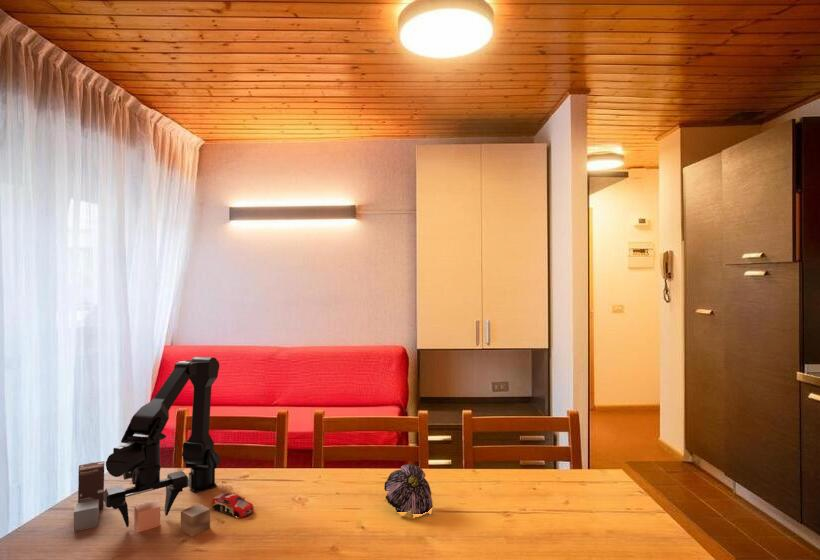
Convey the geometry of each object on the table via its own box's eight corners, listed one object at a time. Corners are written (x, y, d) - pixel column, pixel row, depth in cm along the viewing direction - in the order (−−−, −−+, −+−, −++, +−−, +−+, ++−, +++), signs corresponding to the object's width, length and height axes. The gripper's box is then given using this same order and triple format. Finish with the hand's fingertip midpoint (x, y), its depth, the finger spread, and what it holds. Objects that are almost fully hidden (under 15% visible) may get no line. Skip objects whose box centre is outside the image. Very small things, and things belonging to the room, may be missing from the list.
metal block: (198, 522, 125) (199, 503, 125) (210, 528, 122) (210, 509, 122) (180, 530, 121) (180, 511, 120) (191, 537, 118) (191, 517, 118)
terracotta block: (155, 518, 126) (155, 499, 126) (160, 525, 123) (160, 506, 123) (134, 524, 123) (134, 505, 123) (138, 532, 119) (138, 512, 119)
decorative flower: (386, 487, 125) (393, 450, 139) (375, 520, 128) (383, 481, 143) (439, 502, 125) (440, 464, 139) (427, 535, 128) (429, 495, 143)
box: (77, 514, 127) (77, 470, 127) (78, 507, 131) (78, 464, 131) (104, 509, 131) (104, 465, 131) (104, 502, 135) (104, 460, 134)
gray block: (98, 517, 126) (98, 499, 126) (97, 526, 122) (97, 507, 122) (75, 522, 124) (75, 503, 124) (73, 531, 119) (73, 512, 119)
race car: (257, 513, 130) (257, 498, 130) (241, 521, 126) (242, 506, 126) (225, 500, 137) (225, 487, 137) (208, 508, 132) (209, 494, 132)
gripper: (177, 444, 135) (177, 498, 135) (100, 460, 123) (99, 519, 123) (189, 455, 126) (188, 513, 127) (107, 474, 114) (106, 538, 115)
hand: (147, 520), depth 123 cm, fingers open, 9 cm apart
